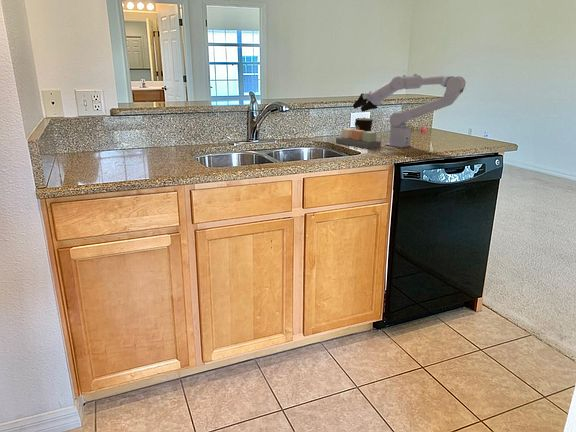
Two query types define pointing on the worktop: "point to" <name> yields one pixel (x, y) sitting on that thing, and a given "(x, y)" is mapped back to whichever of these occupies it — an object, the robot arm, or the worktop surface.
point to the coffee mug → (363, 124)
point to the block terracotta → (357, 134)
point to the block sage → (369, 136)
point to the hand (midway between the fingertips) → (357, 108)
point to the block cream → (346, 133)
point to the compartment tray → (358, 143)
